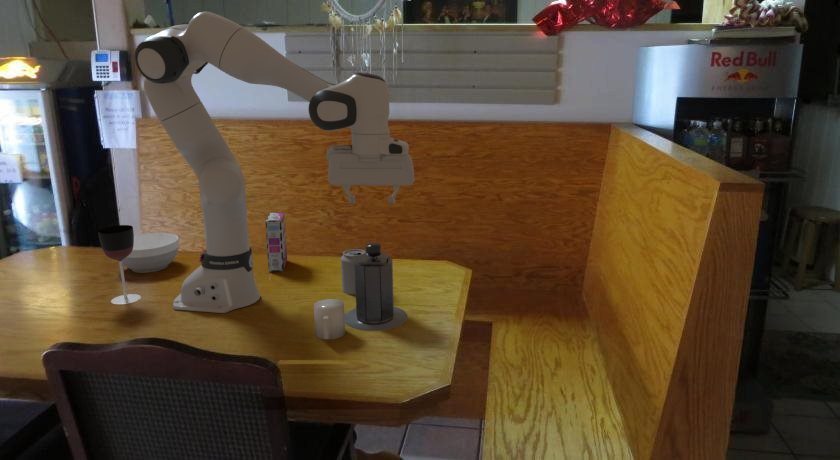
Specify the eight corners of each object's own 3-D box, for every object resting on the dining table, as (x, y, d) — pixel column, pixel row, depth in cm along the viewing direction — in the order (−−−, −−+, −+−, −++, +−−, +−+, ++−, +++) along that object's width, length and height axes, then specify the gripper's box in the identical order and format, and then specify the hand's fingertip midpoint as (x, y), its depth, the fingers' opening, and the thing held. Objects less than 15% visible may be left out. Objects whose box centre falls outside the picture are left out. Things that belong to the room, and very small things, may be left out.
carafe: (355, 324, 150) (352, 264, 146) (360, 306, 161) (357, 249, 157) (392, 324, 150) (391, 263, 146) (395, 305, 161) (393, 248, 157)
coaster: (339, 333, 147) (339, 330, 147) (347, 307, 162) (347, 304, 162) (406, 333, 147) (406, 330, 146) (408, 307, 162) (408, 304, 162)
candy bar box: (285, 271, 190) (281, 220, 186) (268, 272, 190) (264, 221, 185) (288, 260, 201) (284, 211, 196) (272, 261, 200) (269, 212, 196)
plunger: (361, 299, 150) (359, 248, 146) (363, 289, 156) (361, 241, 152) (386, 298, 150) (385, 248, 146) (387, 289, 156) (386, 241, 152)
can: (365, 298, 169) (363, 256, 165) (338, 296, 170) (336, 255, 167) (372, 288, 176) (371, 248, 172) (347, 286, 177) (345, 247, 174)
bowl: (167, 277, 186) (163, 249, 184) (105, 277, 187) (101, 250, 184) (190, 257, 205) (187, 232, 202) (134, 258, 205) (130, 232, 203)
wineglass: (149, 295, 172) (139, 226, 166) (122, 307, 164) (112, 235, 159) (128, 291, 175) (118, 223, 170) (102, 302, 167) (90, 231, 162)
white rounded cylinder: (311, 347, 140) (309, 314, 138) (318, 329, 149) (316, 299, 147) (342, 346, 140) (340, 314, 138) (347, 329, 149) (345, 298, 147)
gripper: (323, 146, 140) (326, 206, 143) (414, 147, 140) (414, 206, 143) (328, 143, 146) (330, 200, 149) (414, 143, 146) (414, 200, 149)
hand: (371, 203), depth 146 cm, fingers open, 8 cm apart
